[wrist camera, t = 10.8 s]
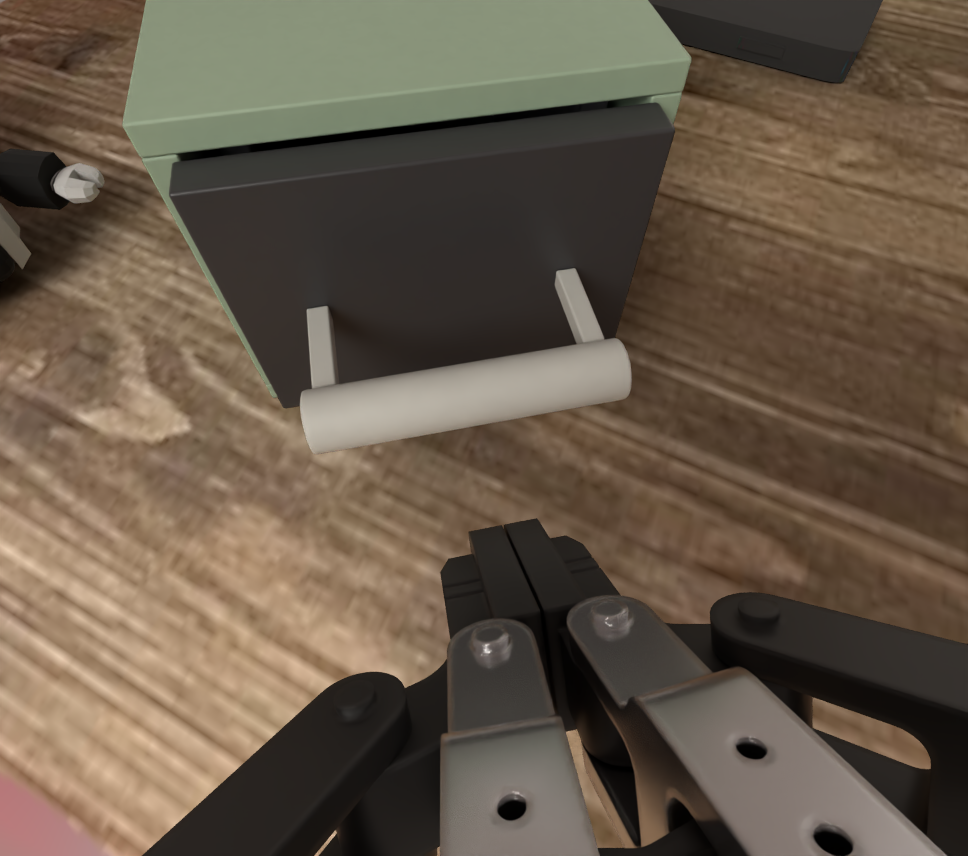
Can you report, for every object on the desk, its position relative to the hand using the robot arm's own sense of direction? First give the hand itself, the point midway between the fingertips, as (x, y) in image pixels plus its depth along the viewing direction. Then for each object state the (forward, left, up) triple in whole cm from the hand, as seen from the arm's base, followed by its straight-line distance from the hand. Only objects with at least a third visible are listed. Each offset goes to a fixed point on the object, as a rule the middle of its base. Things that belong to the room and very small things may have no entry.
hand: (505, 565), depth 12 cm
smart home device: (+24, -29, -5) cm, 38 cm away
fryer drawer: (+12, -4, -4) cm, 13 cm away
